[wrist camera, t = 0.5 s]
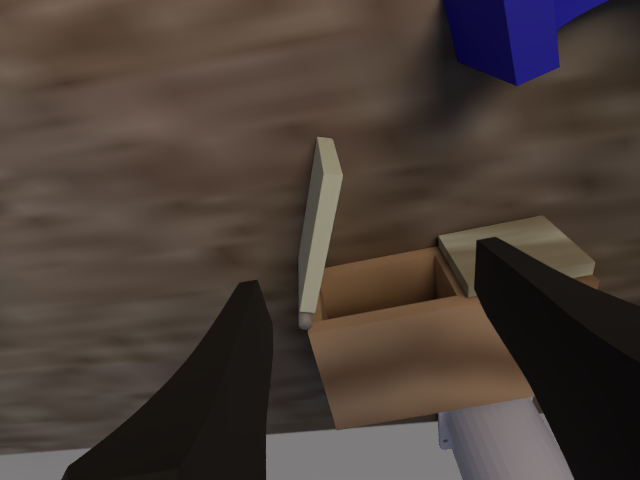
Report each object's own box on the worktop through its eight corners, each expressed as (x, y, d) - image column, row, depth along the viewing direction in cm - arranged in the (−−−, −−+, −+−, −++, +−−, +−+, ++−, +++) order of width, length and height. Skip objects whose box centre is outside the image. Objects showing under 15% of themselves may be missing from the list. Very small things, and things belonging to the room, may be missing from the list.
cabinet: (527, 327, 29) (571, 390, 24) (329, 363, 30) (336, 430, 25) (543, 212, 24) (603, 264, 19) (301, 259, 24) (304, 320, 20)
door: (332, 137, 20) (343, 177, 16) (308, 270, 25) (312, 330, 20) (317, 135, 20) (324, 175, 16) (296, 269, 25) (297, 329, 20)
